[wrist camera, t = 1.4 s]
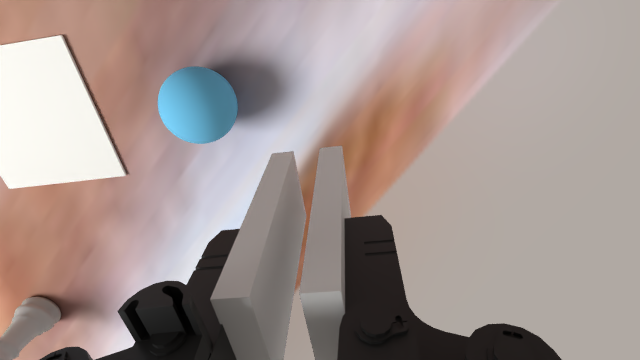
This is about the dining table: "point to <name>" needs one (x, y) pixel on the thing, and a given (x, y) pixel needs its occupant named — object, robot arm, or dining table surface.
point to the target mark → (49, 119)
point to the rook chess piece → (28, 325)
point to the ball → (197, 105)
